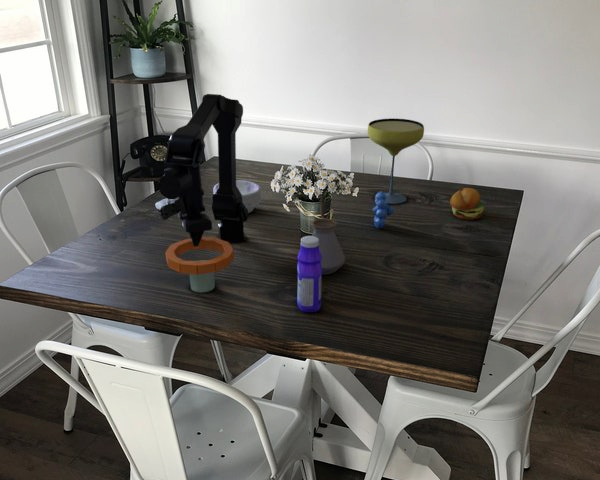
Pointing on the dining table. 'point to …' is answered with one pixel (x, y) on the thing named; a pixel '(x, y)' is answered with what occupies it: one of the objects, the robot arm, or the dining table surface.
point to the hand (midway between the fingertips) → (195, 244)
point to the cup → (202, 281)
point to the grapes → (381, 210)
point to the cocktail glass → (395, 143)
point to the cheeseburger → (467, 204)
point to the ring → (201, 266)
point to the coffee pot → (328, 242)
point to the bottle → (309, 275)
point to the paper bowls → (247, 193)
